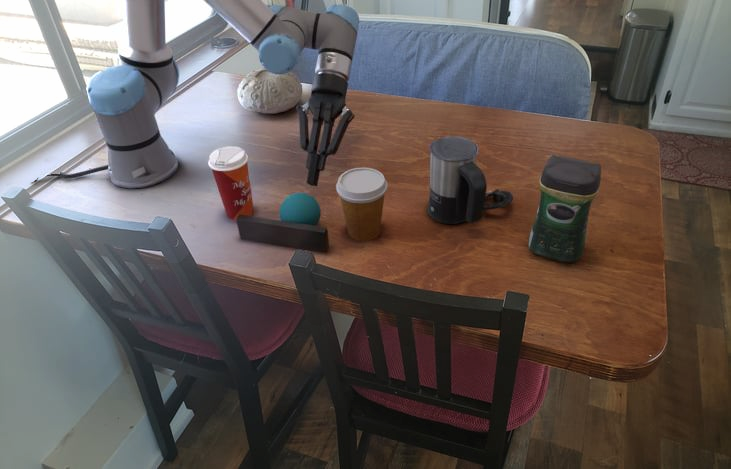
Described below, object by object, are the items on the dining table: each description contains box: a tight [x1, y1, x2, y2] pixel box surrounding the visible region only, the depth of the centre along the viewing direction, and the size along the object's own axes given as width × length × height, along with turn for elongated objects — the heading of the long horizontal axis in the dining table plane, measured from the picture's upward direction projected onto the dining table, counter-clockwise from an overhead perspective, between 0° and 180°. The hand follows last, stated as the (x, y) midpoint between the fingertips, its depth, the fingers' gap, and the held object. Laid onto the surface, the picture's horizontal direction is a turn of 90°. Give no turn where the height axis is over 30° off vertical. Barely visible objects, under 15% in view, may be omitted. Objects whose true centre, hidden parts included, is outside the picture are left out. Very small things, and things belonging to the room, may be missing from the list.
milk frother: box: [427, 136, 514, 225], centre depth 106 cm, size 14×16×15 cm
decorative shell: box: [237, 67, 303, 115], centre depth 149 cm, size 18×18×10 cm
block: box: [235, 214, 330, 254], centre depth 103 cm, size 18×2×5 cm, turn 74°
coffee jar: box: [528, 154, 602, 263], centre depth 95 cm, size 10×8×19 cm
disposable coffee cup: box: [335, 167, 388, 242], centre depth 103 cm, size 10×10×12 cm
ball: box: [279, 192, 322, 226], centre depth 106 cm, size 8×8×8 cm
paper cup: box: [207, 145, 255, 222], centre depth 109 cm, size 8×8×14 cm
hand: (311, 184), depth 115 cm, fingers closed
